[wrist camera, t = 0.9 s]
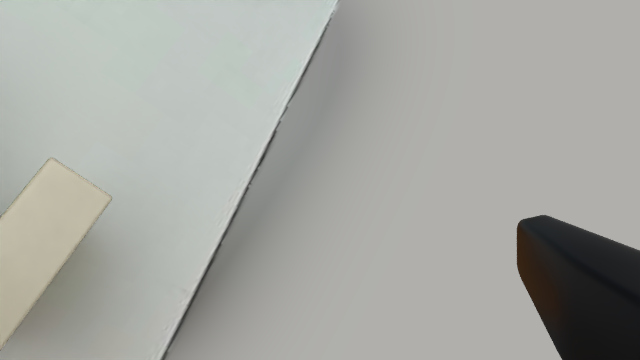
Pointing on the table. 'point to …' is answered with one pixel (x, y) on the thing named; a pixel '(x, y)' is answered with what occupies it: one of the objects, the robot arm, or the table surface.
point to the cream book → (42, 237)
